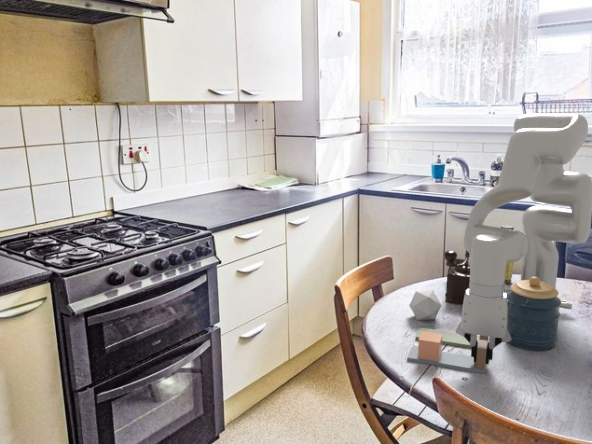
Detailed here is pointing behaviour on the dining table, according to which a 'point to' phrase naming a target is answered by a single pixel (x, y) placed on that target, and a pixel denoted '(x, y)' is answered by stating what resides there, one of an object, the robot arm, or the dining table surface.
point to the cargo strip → (456, 359)
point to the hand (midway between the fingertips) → (481, 360)
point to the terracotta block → (430, 346)
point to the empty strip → (451, 337)
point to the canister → (533, 314)
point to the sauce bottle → (509, 265)
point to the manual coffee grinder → (457, 278)
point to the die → (425, 305)
